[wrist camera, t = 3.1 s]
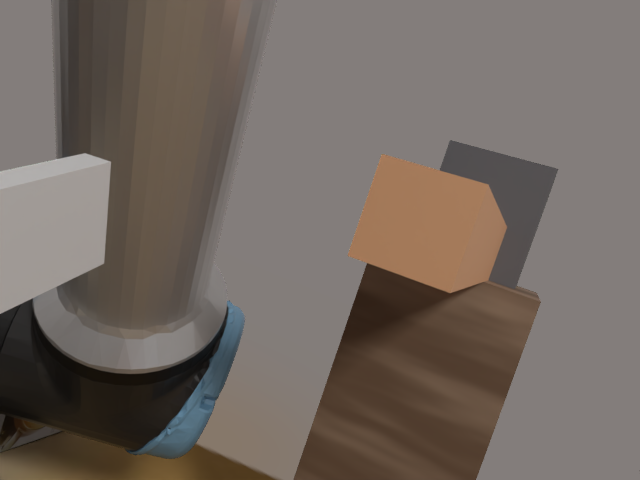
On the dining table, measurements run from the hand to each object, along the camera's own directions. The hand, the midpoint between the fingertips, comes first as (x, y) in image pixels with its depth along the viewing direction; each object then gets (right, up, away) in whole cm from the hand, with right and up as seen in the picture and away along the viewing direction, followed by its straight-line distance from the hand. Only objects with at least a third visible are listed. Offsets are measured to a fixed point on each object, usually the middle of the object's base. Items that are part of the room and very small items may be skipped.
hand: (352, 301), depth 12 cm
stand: (0, -29, +28) cm, 40 cm away
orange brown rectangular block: (+6, 0, +18) cm, 20 cm away
